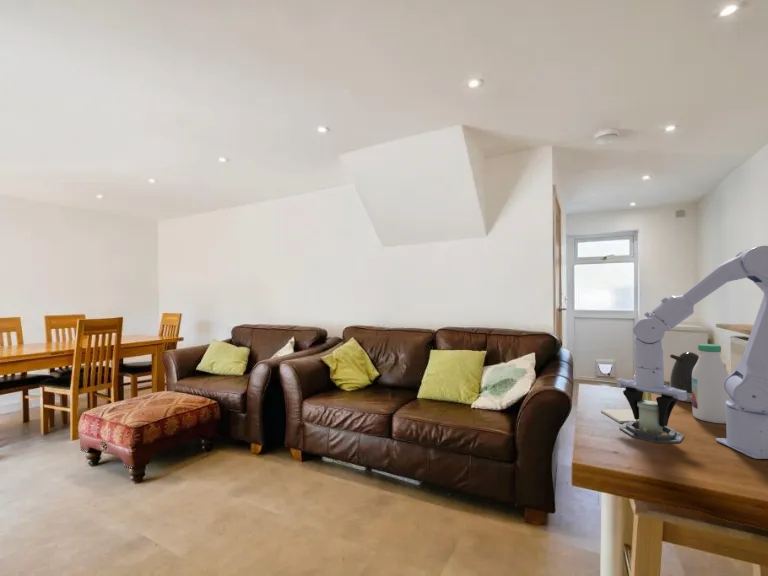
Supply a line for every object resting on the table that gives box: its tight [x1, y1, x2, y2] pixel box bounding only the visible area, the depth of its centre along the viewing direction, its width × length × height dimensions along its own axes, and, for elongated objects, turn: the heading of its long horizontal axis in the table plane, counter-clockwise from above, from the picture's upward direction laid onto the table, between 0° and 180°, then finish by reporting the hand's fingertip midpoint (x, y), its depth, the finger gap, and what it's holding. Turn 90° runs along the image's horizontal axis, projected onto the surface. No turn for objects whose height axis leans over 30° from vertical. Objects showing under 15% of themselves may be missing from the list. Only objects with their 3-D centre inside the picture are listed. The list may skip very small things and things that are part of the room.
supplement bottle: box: [632, 374, 653, 401], centre depth 112 cm, size 5×5×8 cm
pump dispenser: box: [669, 351, 699, 404], centre depth 113 cm, size 10×10×15 cm
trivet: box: [600, 408, 636, 424], centre depth 100 cm, size 9×9×1 cm
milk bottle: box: [691, 343, 730, 424], centre depth 98 cm, size 8×8×20 cm
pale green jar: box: [637, 400, 663, 434], centre depth 90 cm, size 6×5×7 cm
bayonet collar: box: [619, 419, 685, 444], centre depth 89 cm, size 12×12×2 cm
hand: (650, 422), depth 90 cm, fingers closed on pale green jar, 5 cm apart
